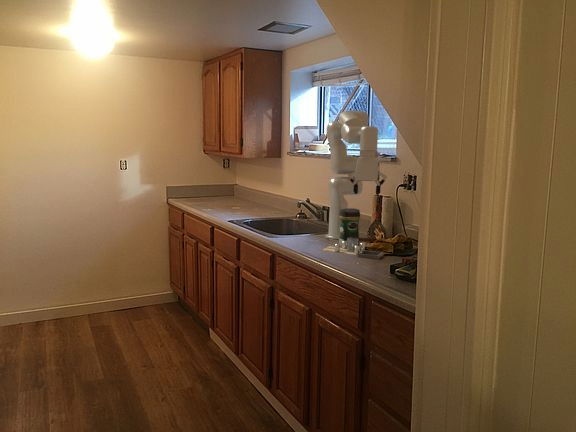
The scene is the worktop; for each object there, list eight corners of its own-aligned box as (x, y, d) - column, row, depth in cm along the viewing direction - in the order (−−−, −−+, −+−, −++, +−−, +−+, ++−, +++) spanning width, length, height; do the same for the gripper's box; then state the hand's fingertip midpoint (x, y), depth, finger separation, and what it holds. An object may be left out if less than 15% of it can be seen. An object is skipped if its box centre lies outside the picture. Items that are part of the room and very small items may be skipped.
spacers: (341, 247, 243) (342, 240, 243) (365, 250, 239) (365, 242, 238) (334, 251, 233) (334, 244, 232) (358, 254, 228) (359, 246, 228)
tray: (362, 254, 232) (363, 250, 231) (383, 256, 228) (383, 252, 228) (357, 258, 223) (357, 253, 223) (378, 260, 220) (378, 256, 220)
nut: (345, 250, 237) (346, 236, 237) (356, 250, 238) (357, 237, 237) (347, 252, 233) (348, 238, 232) (358, 252, 234) (359, 238, 233)
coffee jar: (354, 245, 253) (355, 207, 250) (361, 248, 245) (363, 209, 243) (335, 246, 250) (337, 207, 247) (342, 249, 242) (344, 209, 240)
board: (328, 247, 246) (328, 246, 246) (366, 251, 239) (366, 250, 239) (320, 251, 235) (320, 250, 235) (359, 256, 228) (359, 254, 228)
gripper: (389, 155, 229) (388, 194, 231) (351, 154, 236) (350, 193, 238) (385, 155, 222) (384, 195, 224) (346, 154, 229) (345, 193, 231)
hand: (366, 194), depth 231 cm, fingers open, 9 cm apart
